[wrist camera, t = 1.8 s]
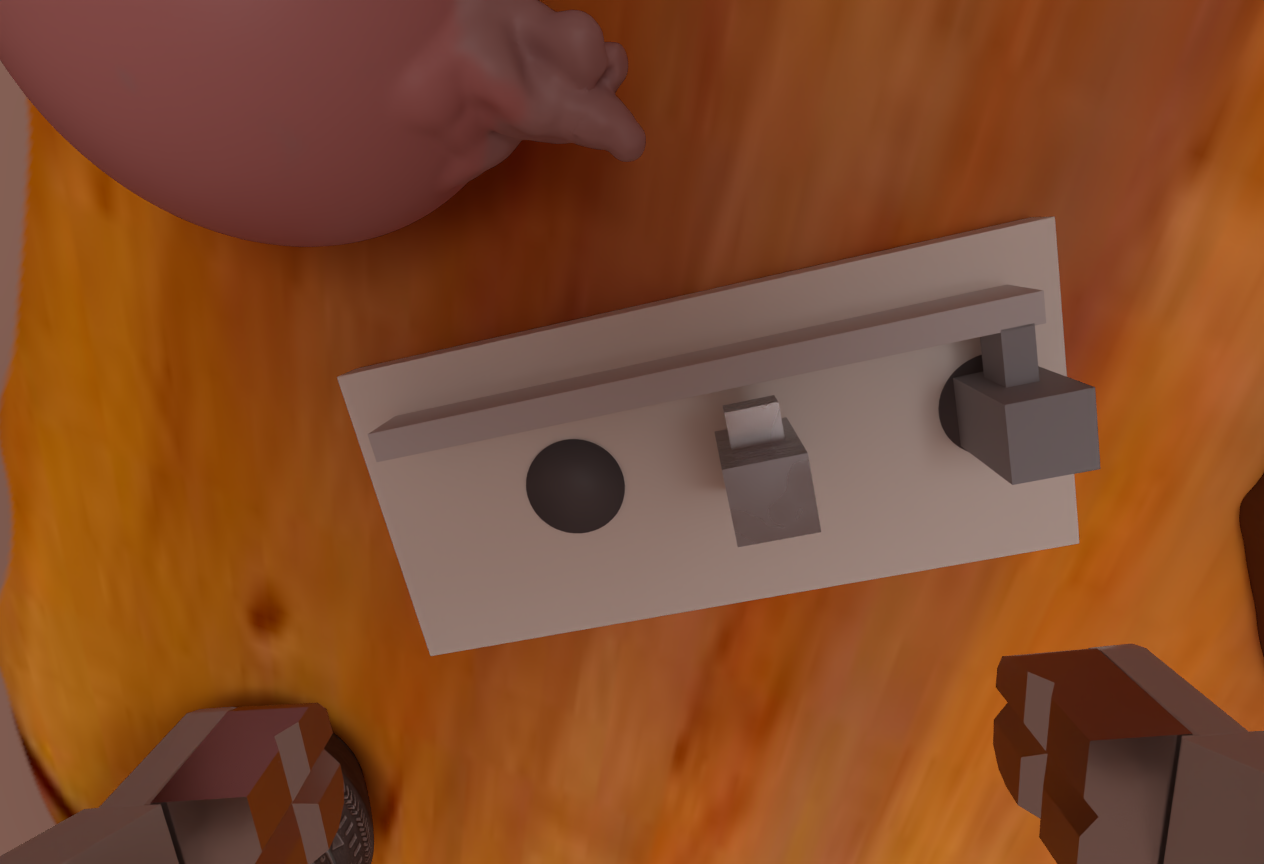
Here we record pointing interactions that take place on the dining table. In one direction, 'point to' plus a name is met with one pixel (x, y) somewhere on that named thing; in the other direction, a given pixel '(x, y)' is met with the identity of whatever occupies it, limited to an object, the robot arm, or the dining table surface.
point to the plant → (1255, 547)
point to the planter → (350, 812)
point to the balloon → (313, 102)
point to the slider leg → (765, 474)
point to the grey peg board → (692, 411)
